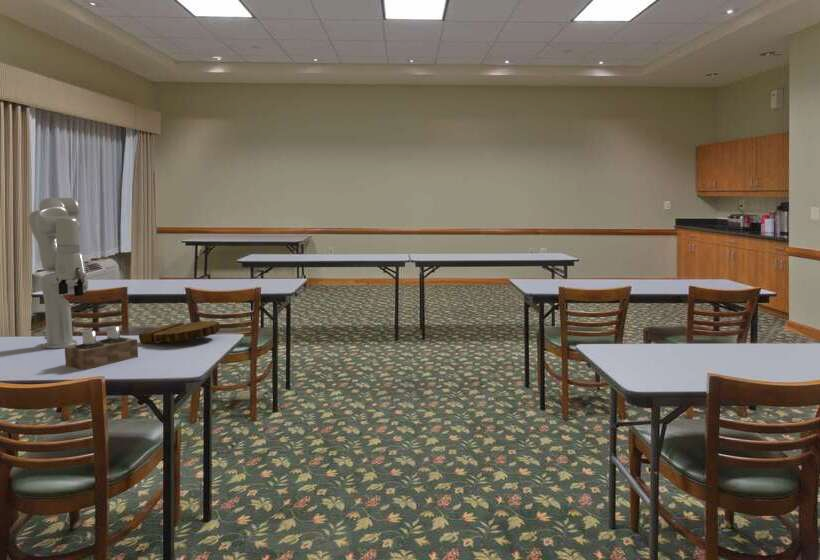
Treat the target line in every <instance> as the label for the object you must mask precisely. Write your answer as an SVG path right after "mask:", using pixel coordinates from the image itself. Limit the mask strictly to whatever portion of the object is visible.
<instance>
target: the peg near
mask: <svg viewBox="0 0 820 560" xmlns="http://www.w3.org/2000/svg"><path fill="white" fill-rule="evenodd" d="M96 334H97V332H96V330H83V331H82V344H83V346H86V347H89V346H93V345H96V341H97V335H96Z"/></svg>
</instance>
